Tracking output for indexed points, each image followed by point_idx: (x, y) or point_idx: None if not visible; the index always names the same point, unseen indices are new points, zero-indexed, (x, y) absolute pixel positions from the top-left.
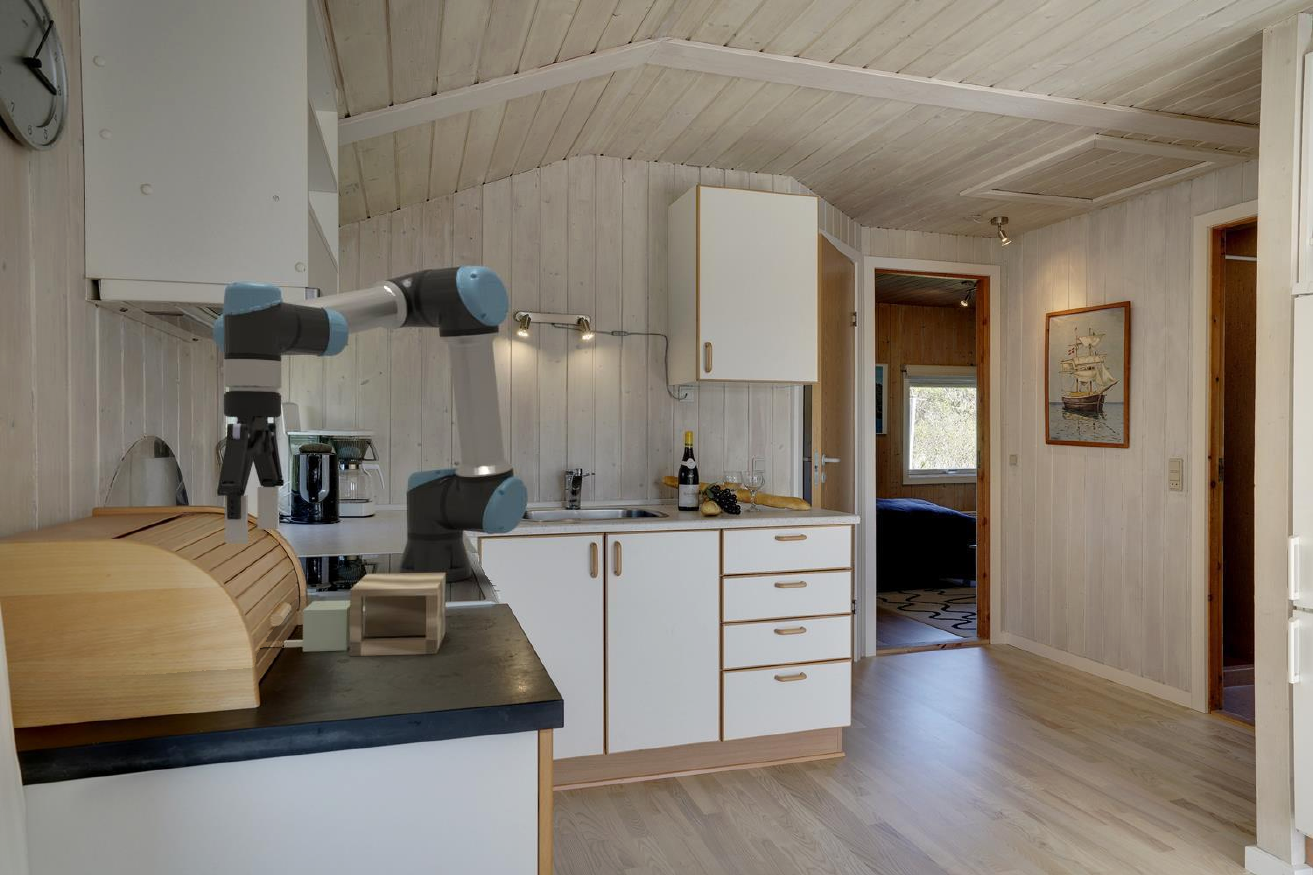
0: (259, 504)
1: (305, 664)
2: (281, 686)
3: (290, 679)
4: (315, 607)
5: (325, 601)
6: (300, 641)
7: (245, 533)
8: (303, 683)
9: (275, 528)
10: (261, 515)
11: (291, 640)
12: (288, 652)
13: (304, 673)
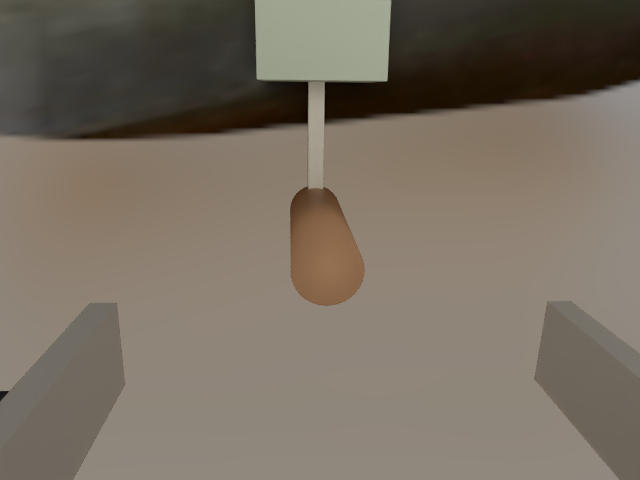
0: (72, 468)
1: (467, 51)
2: (622, 64)
3: (577, 57)
4: (353, 50)
5: (265, 36)
6: (324, 99)
7: (594, 321)
8: (614, 19)
9: (114, 308)
10: (97, 412)
11: (310, 126)
12: (356, 119)
13: (539, 36)
